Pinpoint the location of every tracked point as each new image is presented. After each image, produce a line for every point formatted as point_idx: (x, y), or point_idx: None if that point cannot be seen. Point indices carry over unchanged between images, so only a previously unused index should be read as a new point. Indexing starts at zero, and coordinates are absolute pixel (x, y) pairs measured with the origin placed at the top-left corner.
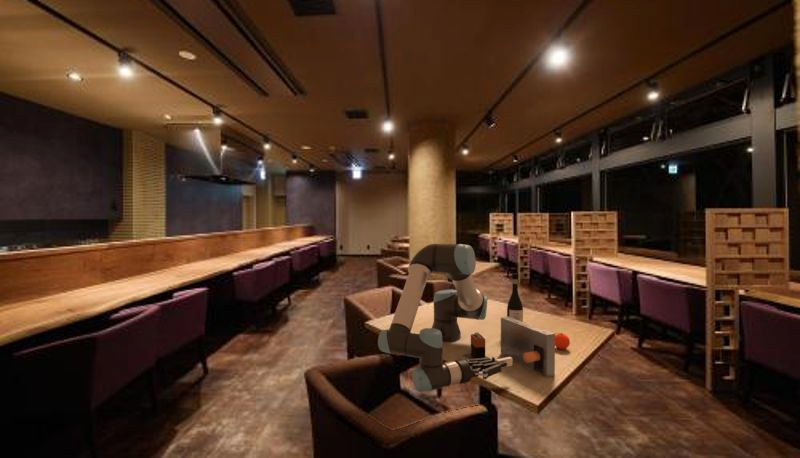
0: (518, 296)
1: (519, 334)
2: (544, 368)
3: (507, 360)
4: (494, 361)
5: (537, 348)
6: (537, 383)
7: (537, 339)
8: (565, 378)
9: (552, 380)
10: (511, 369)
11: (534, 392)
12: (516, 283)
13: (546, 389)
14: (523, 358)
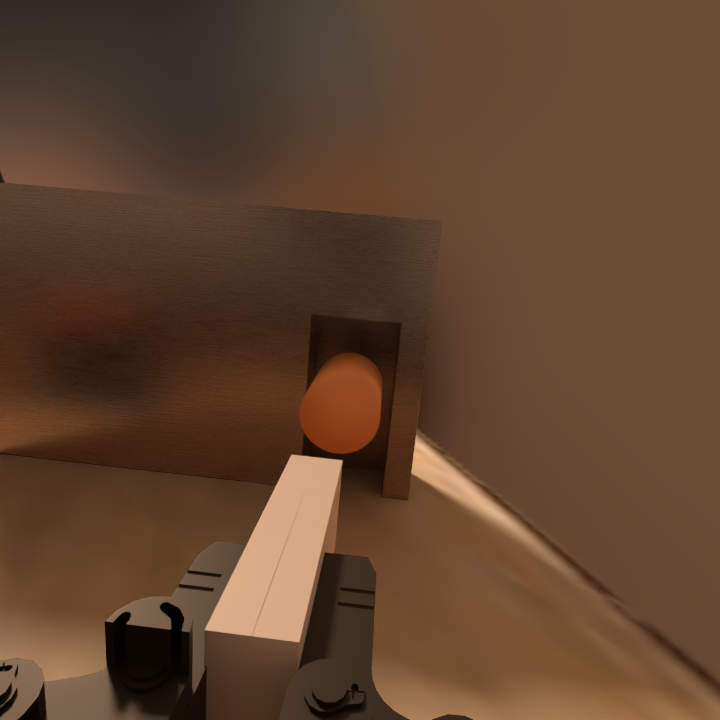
0: (2, 180)
1: (170, 274)
2: (395, 450)
3: (330, 520)
4: (190, 688)
5: (313, 343)
6: (459, 579)
7: (348, 273)
8: (452, 463)
9: (450, 503)
10: (172, 547)
11: (625, 716)
12: None
13: (568, 600)
14: (303, 429)
